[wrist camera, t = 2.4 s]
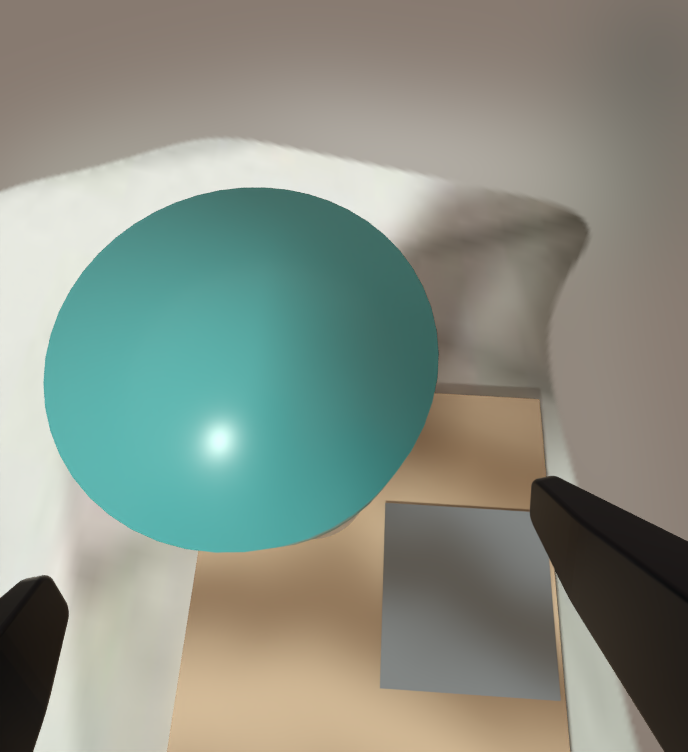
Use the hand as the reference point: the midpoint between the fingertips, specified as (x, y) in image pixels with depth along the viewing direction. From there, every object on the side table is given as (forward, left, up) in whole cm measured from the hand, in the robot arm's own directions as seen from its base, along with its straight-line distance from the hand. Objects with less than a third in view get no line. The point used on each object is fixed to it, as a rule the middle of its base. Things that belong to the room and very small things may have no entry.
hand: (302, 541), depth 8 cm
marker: (+2, +1, -9) cm, 9 cm away
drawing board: (-2, -3, -9) cm, 10 cm away
